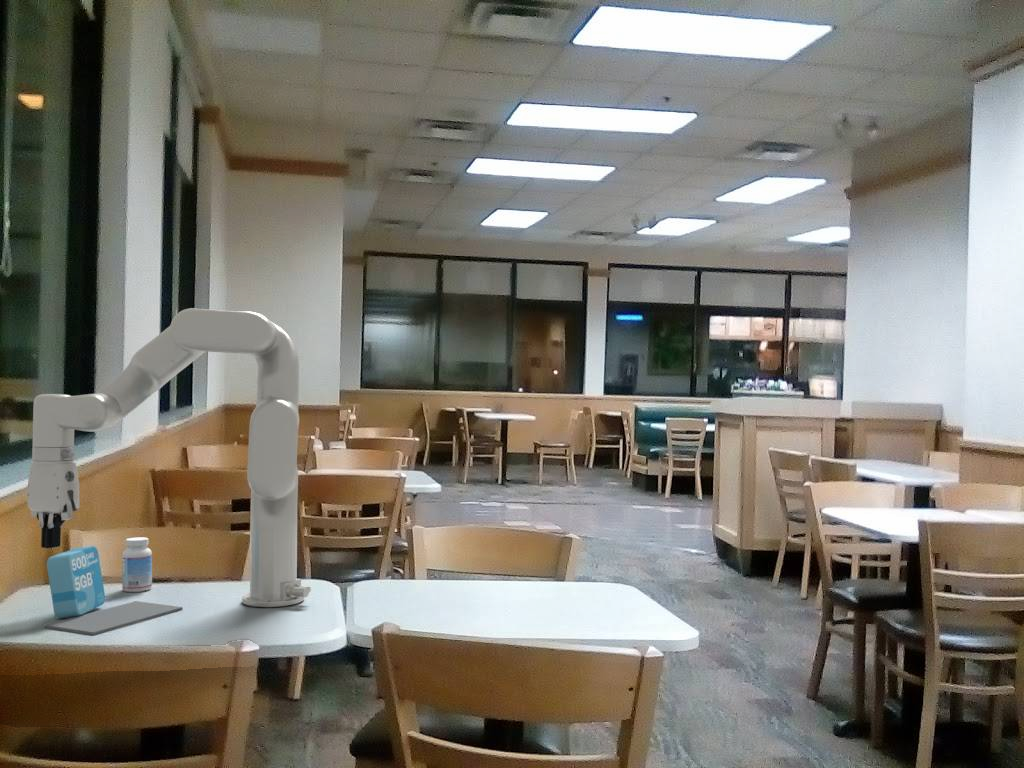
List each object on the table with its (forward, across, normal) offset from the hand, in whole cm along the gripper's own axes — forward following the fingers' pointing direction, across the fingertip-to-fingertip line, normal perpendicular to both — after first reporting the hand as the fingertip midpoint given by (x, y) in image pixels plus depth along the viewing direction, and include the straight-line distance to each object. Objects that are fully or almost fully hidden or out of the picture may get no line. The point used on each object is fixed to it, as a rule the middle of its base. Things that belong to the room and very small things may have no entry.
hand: (50, 546), depth 194 cm
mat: (+12, -18, 0) cm, 22 cm away
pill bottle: (+12, -2, -21) cm, 25 cm away
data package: (+12, -9, 0) cm, 15 cm away
